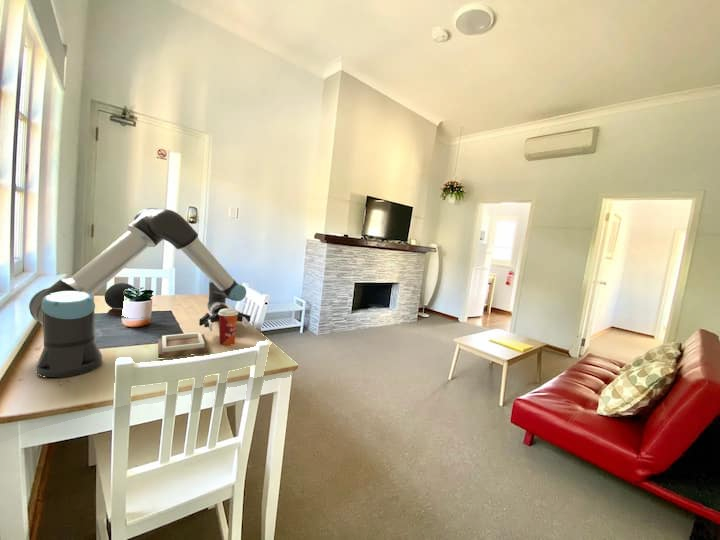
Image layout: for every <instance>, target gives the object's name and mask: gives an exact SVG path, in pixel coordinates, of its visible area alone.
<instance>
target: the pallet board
mask: <svg viewBox="0 0 720 540" xmlns="http://www.w3.org/2000/svg"><path fill="white" fill-rule="evenodd" d="M209 351H210V348H209V345H208V343H207V340H206V337H205V334H202V332H201V331H199V332H188V333H187V332H186V333H178V334H166V335H161V338H158V339H157V359H158V358H167V359H173V358H172V357H174V358H175V359H176V358H180V357H179V356H183V357H188V356H187V355H190V356H192V355H191V354H198V355H203V354H204V353H205V354H209V353H210V352H209ZM205 354H204V355H205Z"/></svg>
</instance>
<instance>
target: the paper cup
mask: <svg viewBox="0 0 720 540" xmlns="http://www.w3.org/2000/svg"><path fill="white" fill-rule="evenodd" d="M238 312H239V311H238V309H236V308H232V307H228V308H225V309H221V310H220V311H219V313H218V315H219V322H218V325H219V327H218V328H219V331H218V332H219V344H220V346H223V345H229V346H232V345H231V344H233V345H234V344H235V341H236V335H237V334H236V333H237V324H238V323H237V322H238V321H237V315H238Z"/></svg>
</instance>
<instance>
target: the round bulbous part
mask: <svg viewBox="0 0 720 540" xmlns="http://www.w3.org/2000/svg"><path fill="white" fill-rule="evenodd" d="M128 288H133V289H136V287H135V286H134V285H131V284H129V283H125V282H121V283H120V282H118V283H116V284H112V285H111V286H109V288H107V290H106V291H105V293H104V301H105V303H106V304H107V306H109V308H110V309H109V310H108V311H107V315H108V314H109V315H115V316H114V317H122V316H121V315H122V309H123V301H124V295H123V291H124V290H125V289H128ZM109 315H108V316H109Z"/></svg>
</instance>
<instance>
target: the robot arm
mask: <svg viewBox="0 0 720 540" xmlns="http://www.w3.org/2000/svg"><path fill="white" fill-rule="evenodd" d="M163 240H164V241H167V242H168V243H169V244H171V245H172V246H174V248H175V249H177V250H181V251H182V253H184V255H186V257H188V258H189V260H191V262H192V263H193V264H194V265H195V266H196V267H197V268H198V269H199V270H200V271H201V272H202V273H203V274H204V275H205V276H206V277H207V278H208V279H209V281H208V302H207V304H206V306H207V310H208V311H209V313H208V312H207V313H205V315H203V317H201V318H200V319H199V320H198V321H199V322H198V325H199V326H203V327H204V328H208V329H209V331H211V332H212V331H213V324H214V323H219V315H218V313H219V311H220V310H221V309H225V308H229V307H228V305H227V304H226V303H227V302H226V301H227V300H226V299H228V300H231V301H234V302H240V301H243V300H244V299H245V297H246V296H247V289H246V287H245V286H243V285H242V284H240V283H239V284H238V282H237V281H236V280H235V279H234V278H233V277H232V276H231V274H229V272H228V271H227V269H225V267H223V265H222V264H220V263H221V262H219V261H218V260H217V259H216V257H215V256H214V255H213V253H212V252H211V251H210V250H209V249H208V248H207V247H206V246H205V244H204V243H202V241H201V240H200V239H199V234H198V232H197V231H196V230H195V229H194V228H193V227H192V226H191V224H190V223H189V222H188V221H187V220H186V219H185V218H184V217H183V216H182V215H180V214H179V213H178V212H175V211H174V210H171V209H166V208H165V209H162V208H156V207H155V208H154V207H150V208H145V209H142V210H140V211H139V212H137V213H136V214H135V216H134V218H133V220H132V221H131V222H130V223H129V224H127V231H126V232H125V233H124V234H122V235H121V236H120V237H119V238H117V239H116V240H115V241H113V242H112V244H110V245H109V246H107V248H105V249H104V250H103V251H101V252H100V253H99V254H98V255H97V256H96V257H94V258H93V259H92V260H90V261H88V263H87V264H86V265H85V266H83V267H82V268H81V269H79V270H78V271H77V272H76V273H75V274H73V275H72V276H71V277H69V278H60V279H58V280H57V281H56V282H55V283H54V284H52V285H51V286H49V287H46V288H43V289H40V290H39V291H37V292H36V293H35V294H33V296H32V297H31V298H30V301H29V303H28V308H29V312H30V315H31V317H32V318H33V319H34V320H35V321H36V322H38V323H40V324H41V325H42V330H43V334H42V335H43V348H42V351H41V353H40V357H39V359H38V361H37V364H36V367H35V368H36V369H35V370H36V371H35V372H37V373H36V375H37V374H39V375H41V376H45V377H63V378H68V377H67V376H69V377H75V376H77V374H79V375H82V374H81V373H83V374H85V373H84V372H86V373H88V371H89V372H91V371H93V370H95V369H97V368H98V367H97V366H99V365H100V364H101V363H102V364H103V355H102V352H101V351H100V348H99V346H98V343H97V342H96V333H95V330H96V328H95V326H96V323H95V322H96V321H95V308H96V304H95V294H96V293H98V292H99V291H100V290H101V289H102V287H104V286H105V285H107V284H108V283H109V282H110V281H111V280H112V279H113V278H115V277H116V276H117V275H118V274H119V273H120V272H121V271H122V270H124V268H126V267H127V266H128V265H129V264H130V263H132V262H133V261H134V260H135V259H136V258H137V257H138V256H140V255H141V254H142V253H143V252H145V250H147V249H148V248H155V247H156V246H157V245H159V244H160V243H161V242H162V241H163ZM237 322H240V323H242V324H243V326H244V327H245V328H248V326H249V322H251V315H248V314H246V313H242V312H240V311H238V315H237ZM102 364H101V365H102ZM101 365H100V366H101ZM100 366H99V367H100ZM96 367H97V368H96ZM94 368H95V369H94ZM92 369H93V370H92ZM90 370H91V371H90ZM74 375H75V376H74Z"/></svg>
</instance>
